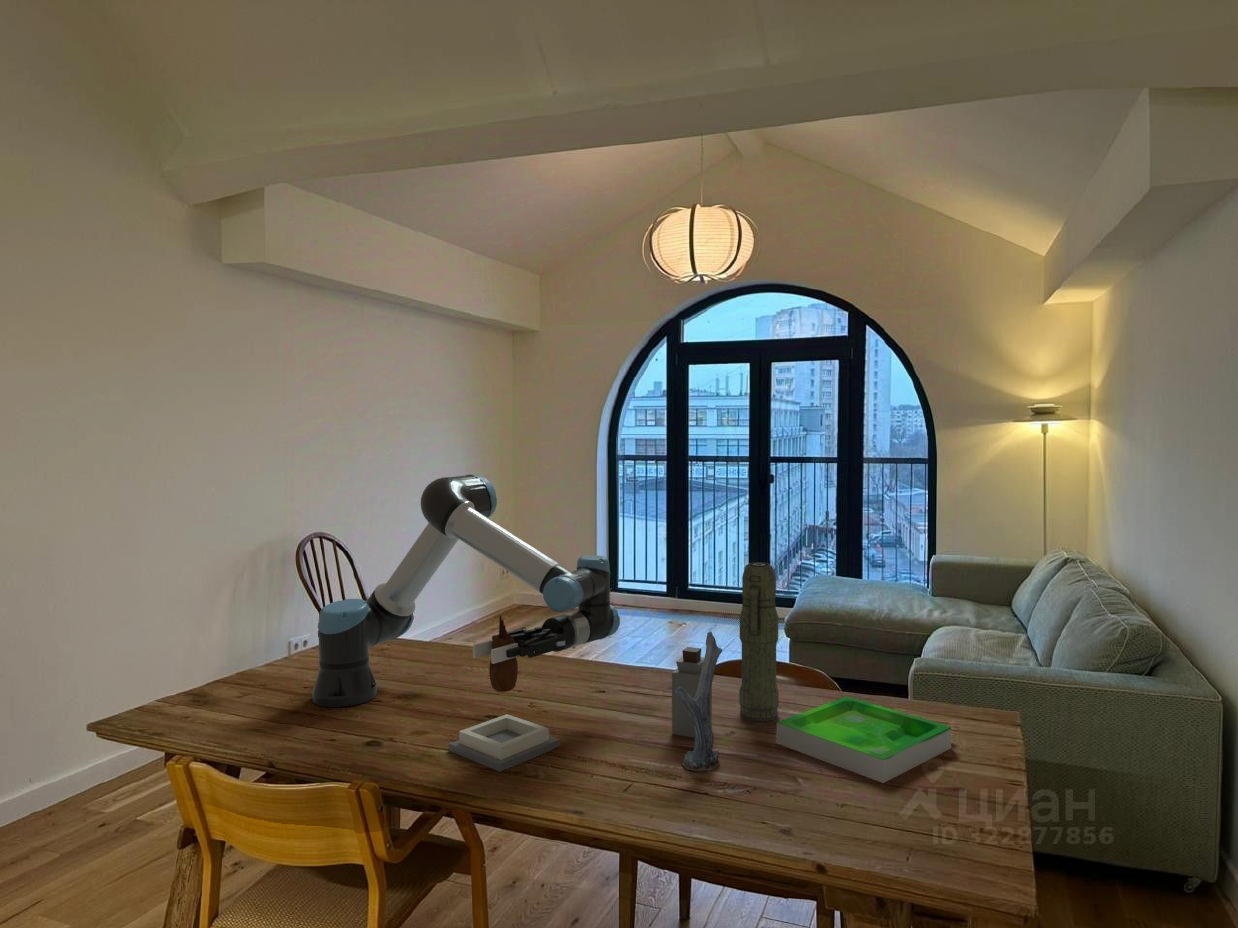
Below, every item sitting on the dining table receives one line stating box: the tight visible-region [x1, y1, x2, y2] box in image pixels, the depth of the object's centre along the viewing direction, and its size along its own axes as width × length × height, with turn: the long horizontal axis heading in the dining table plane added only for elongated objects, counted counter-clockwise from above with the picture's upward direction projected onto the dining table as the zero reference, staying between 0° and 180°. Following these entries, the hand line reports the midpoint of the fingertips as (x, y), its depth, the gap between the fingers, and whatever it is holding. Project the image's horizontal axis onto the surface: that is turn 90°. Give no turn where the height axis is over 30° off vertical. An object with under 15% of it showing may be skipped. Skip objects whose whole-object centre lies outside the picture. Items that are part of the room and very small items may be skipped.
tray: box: [776, 695, 952, 784], centre depth 165 cm, size 25×25×5 cm
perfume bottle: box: [671, 646, 713, 739], centre depth 174 cm, size 7×7×18 cm
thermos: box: [738, 561, 780, 722], centre depth 183 cm, size 9×12×35 cm
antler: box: [675, 631, 723, 772], centre depth 157 cm, size 12×8×25 cm
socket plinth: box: [448, 713, 560, 773], centre depth 165 cm, size 16×16×4 cm
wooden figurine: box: [489, 615, 519, 693], centre depth 164 cm, size 7×6×15 cm
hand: (483, 654), depth 160 cm, fingers closed on wooden figurine, 5 cm apart
